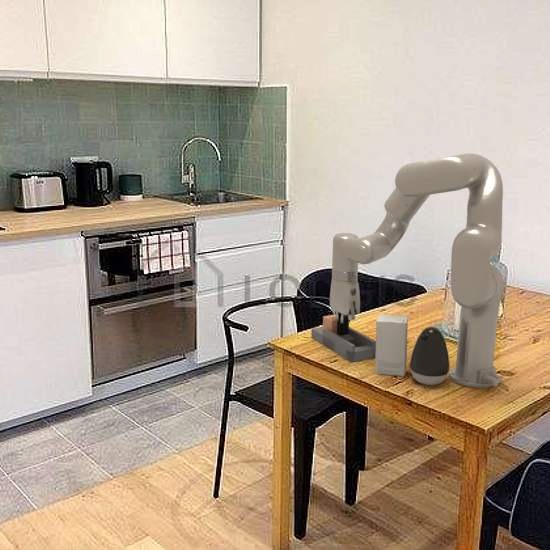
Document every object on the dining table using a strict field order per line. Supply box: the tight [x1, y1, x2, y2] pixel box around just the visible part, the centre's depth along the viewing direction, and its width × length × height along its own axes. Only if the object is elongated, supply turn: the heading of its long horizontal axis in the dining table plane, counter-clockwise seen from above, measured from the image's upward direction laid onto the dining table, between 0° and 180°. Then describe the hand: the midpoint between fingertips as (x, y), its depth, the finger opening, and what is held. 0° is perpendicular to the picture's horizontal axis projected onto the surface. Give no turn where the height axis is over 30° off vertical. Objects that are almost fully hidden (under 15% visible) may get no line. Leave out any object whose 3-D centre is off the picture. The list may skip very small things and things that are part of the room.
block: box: [322, 314, 339, 335], centre depth 198 cm, size 5×5×5 cm
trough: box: [310, 326, 376, 363], centre depth 195 cm, size 23×8×5 cm, turn 27°
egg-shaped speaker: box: [409, 326, 450, 386], centre depth 169 cm, size 10×10×15 cm
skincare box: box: [374, 313, 409, 377], centre depth 176 cm, size 8×7×16 cm
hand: (342, 334), depth 194 cm, fingers closed
